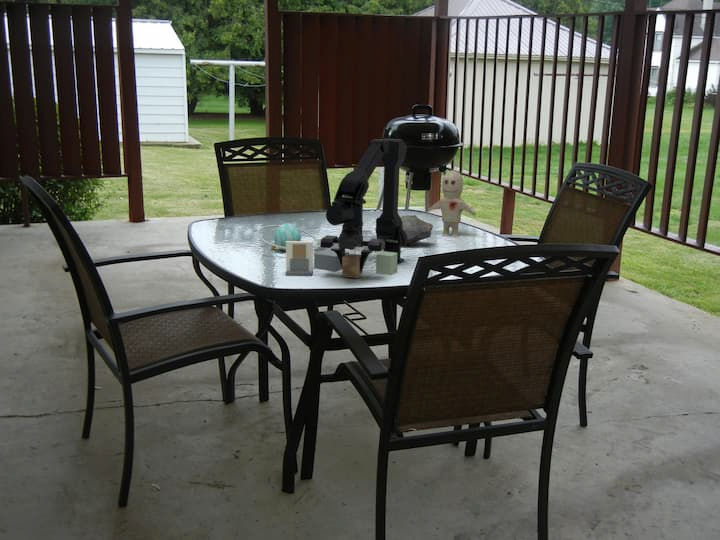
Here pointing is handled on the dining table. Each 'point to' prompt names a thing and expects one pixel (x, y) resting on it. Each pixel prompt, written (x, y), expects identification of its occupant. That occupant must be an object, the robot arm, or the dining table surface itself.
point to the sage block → (386, 263)
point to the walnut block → (351, 265)
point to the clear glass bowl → (285, 235)
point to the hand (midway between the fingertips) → (352, 271)
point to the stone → (415, 228)
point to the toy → (452, 202)
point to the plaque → (299, 258)
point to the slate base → (327, 260)
